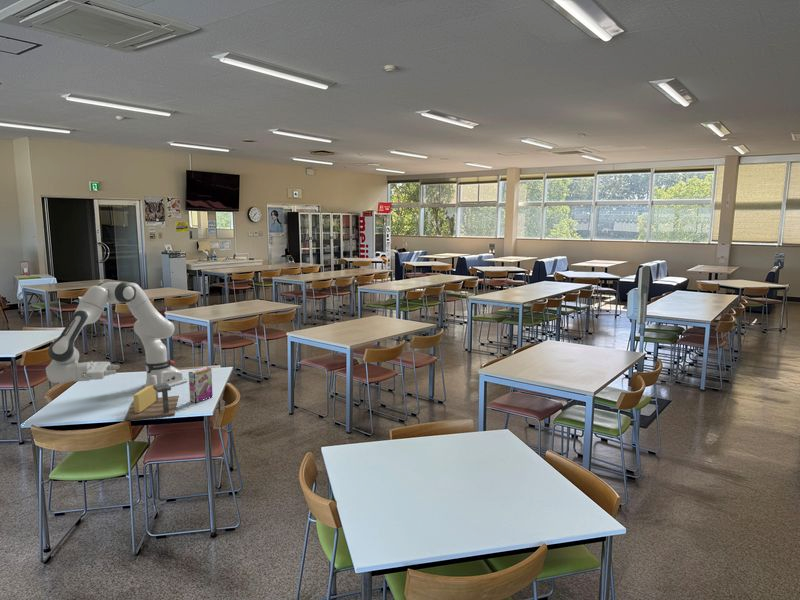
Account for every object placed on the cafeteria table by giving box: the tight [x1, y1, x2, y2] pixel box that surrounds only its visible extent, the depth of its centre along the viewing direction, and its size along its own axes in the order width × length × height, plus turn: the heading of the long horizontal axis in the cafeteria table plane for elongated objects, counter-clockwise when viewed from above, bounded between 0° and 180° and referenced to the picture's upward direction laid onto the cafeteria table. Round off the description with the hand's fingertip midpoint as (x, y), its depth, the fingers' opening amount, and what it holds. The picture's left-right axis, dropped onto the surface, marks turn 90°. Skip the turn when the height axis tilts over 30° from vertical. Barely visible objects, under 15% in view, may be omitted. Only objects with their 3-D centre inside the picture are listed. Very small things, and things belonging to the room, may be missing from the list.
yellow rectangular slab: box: [133, 375, 159, 413], centre depth 270 cm, size 20×3×13 cm, turn 178°
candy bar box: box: [188, 366, 213, 403], centre depth 282 cm, size 11×5×16 cm, turn 149°
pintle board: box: [123, 383, 180, 422], centre depth 270 cm, size 28×22×14 cm
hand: (117, 369), depth 261 cm, fingers open, 8 cm apart
